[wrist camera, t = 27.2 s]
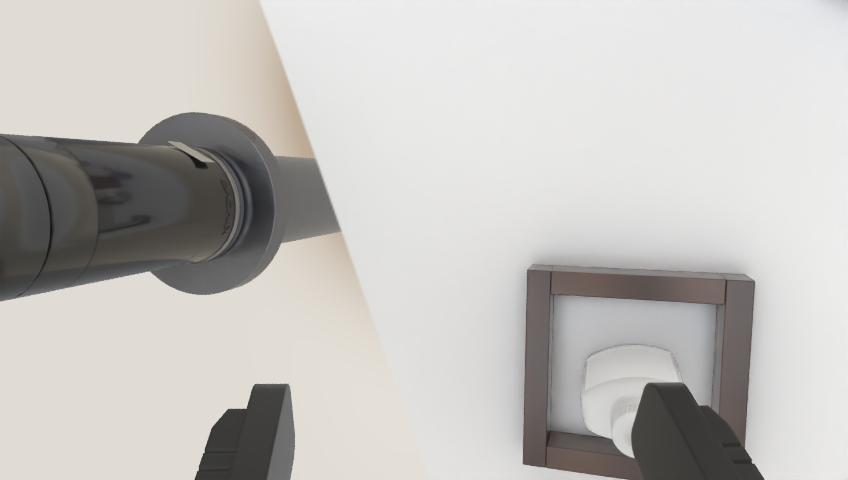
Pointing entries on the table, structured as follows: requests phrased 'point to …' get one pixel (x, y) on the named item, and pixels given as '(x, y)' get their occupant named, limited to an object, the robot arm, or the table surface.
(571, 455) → the brown wooden square frame
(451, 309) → the table surface
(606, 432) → the eye dropper bottle
